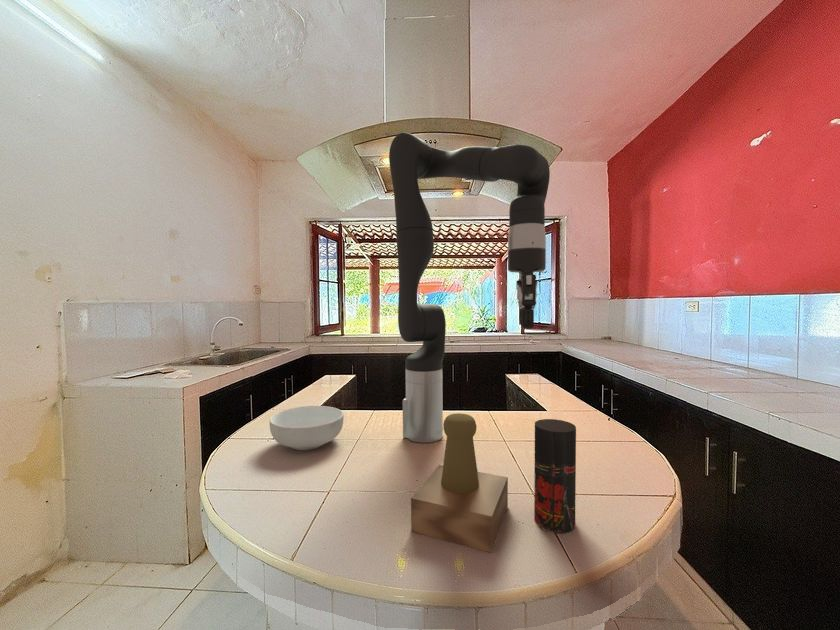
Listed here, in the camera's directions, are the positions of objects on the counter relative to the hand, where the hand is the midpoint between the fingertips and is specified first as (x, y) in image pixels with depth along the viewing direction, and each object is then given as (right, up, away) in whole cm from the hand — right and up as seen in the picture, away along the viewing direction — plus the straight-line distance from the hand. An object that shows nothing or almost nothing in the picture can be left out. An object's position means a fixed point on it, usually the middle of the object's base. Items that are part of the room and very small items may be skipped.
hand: (526, 326), depth 77 cm
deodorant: (-2, -30, -20) cm, 36 cm away
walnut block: (-16, -29, -19) cm, 39 cm away
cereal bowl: (-49, -29, +12) cm, 58 cm away
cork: (-16, -25, -18) cm, 35 cm away
